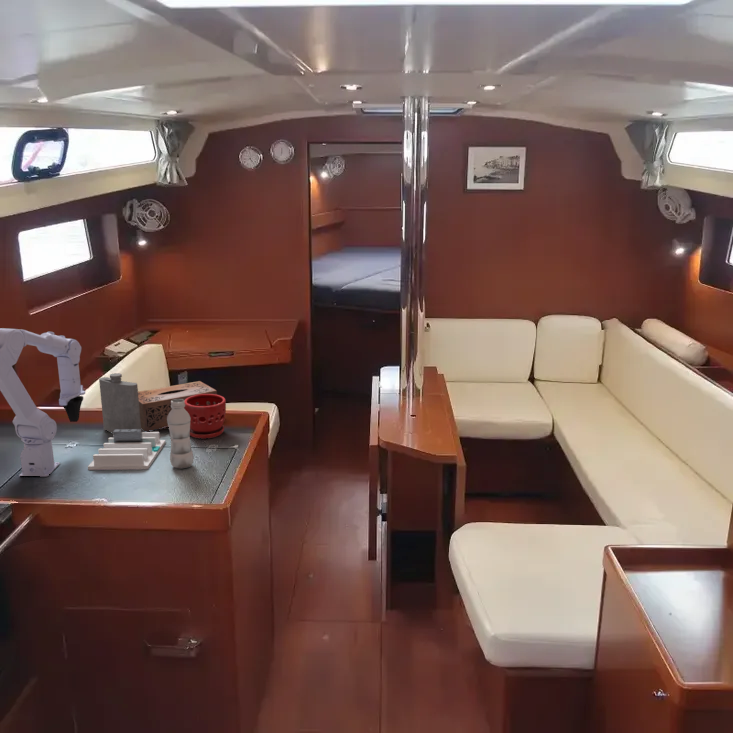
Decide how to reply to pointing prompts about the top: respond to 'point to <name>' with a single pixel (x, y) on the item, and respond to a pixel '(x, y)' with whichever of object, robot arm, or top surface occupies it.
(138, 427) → the hip flask
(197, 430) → the plant pot
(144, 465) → the slot rack
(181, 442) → the plastic bottle
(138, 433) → the rectangular block
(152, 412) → the tissue box cover
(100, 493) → the top surface
